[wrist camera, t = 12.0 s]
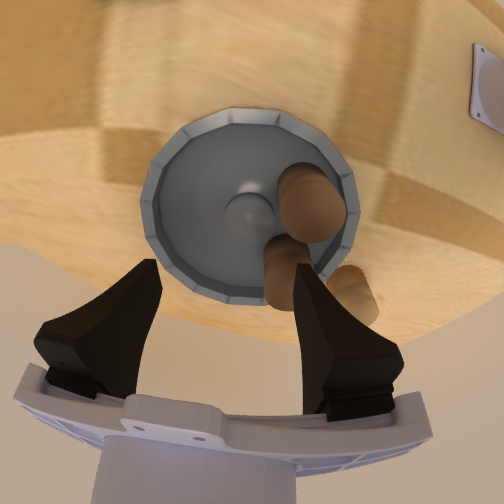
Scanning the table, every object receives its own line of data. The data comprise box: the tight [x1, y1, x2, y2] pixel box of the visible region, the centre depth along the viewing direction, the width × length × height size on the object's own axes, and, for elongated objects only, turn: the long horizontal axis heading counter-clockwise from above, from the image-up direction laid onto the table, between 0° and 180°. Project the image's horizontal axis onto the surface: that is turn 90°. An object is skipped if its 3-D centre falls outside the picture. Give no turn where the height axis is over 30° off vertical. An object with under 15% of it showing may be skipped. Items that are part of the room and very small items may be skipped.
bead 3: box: [327, 265, 379, 327], centre depth 24 cm, size 4×4×5 cm
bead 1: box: [277, 162, 346, 244], centre depth 18 cm, size 4×4×5 cm
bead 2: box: [263, 234, 315, 311], centre depth 22 cm, size 4×4×5 cm
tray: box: [140, 107, 361, 306], centre depth 21 cm, size 17×17×2 cm
